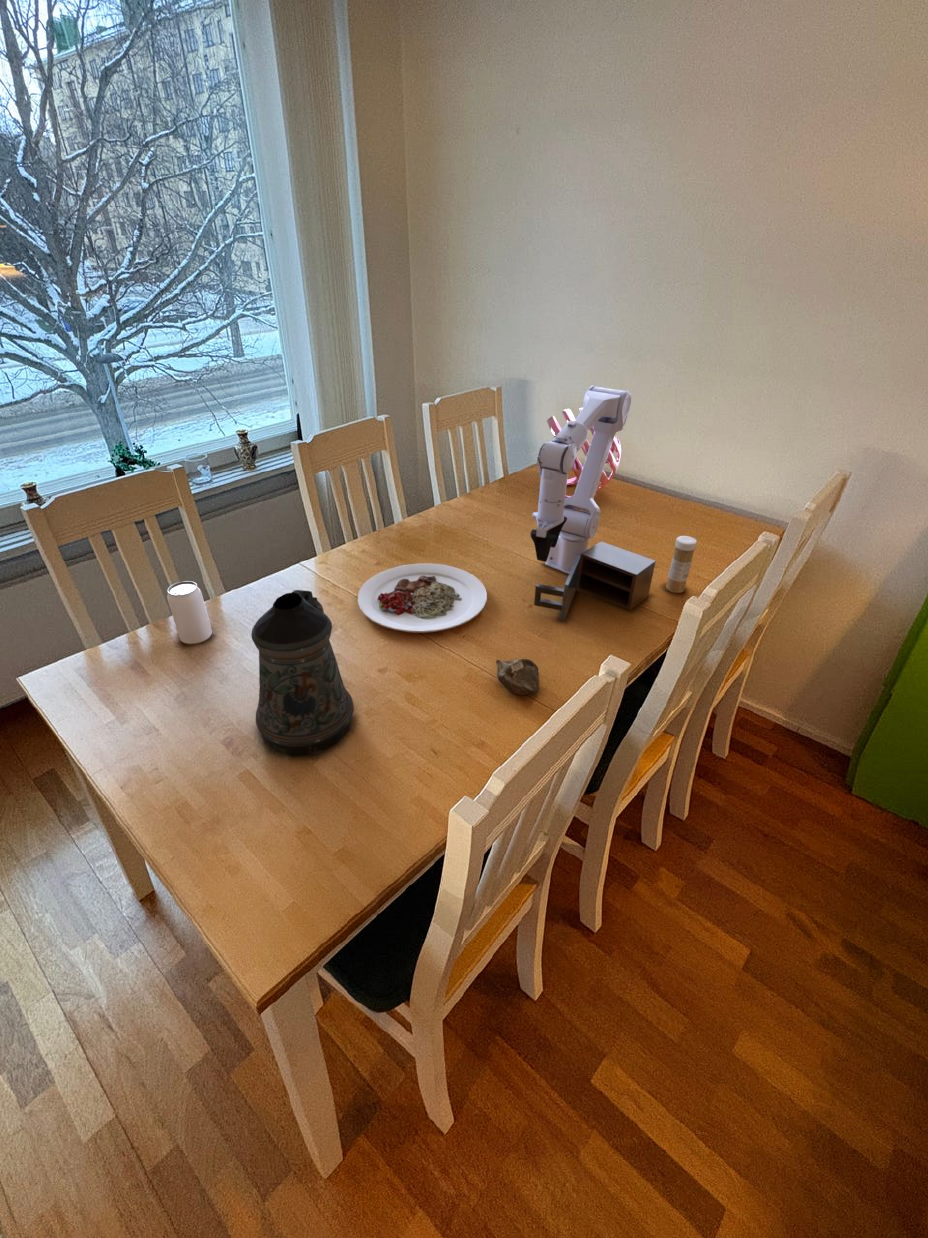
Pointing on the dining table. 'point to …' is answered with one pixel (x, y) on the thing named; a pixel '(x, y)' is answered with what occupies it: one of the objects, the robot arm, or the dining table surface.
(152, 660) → the dining table surface
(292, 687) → the beer stein
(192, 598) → the can
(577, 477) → the spiral basket
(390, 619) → the plated food
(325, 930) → the dining table surface
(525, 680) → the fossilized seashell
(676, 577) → the sprinkles bottle
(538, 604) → the cupboard door
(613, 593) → the cupboard
